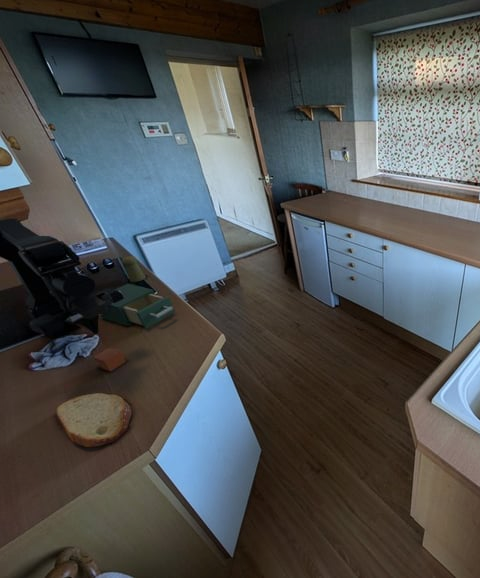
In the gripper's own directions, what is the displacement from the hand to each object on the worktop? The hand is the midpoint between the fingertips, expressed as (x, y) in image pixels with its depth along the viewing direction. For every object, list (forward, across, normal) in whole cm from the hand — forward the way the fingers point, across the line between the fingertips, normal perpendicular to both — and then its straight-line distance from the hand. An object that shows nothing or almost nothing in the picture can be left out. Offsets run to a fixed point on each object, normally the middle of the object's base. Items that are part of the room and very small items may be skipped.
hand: (95, 333), depth 84 cm
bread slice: (+12, -16, -16) cm, 25 cm away
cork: (+12, +41, +48) cm, 64 cm away
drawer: (+11, +21, +11) cm, 26 cm away
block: (+12, 0, 0) cm, 12 cm away
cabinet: (+12, +21, +22) cm, 33 cm away
